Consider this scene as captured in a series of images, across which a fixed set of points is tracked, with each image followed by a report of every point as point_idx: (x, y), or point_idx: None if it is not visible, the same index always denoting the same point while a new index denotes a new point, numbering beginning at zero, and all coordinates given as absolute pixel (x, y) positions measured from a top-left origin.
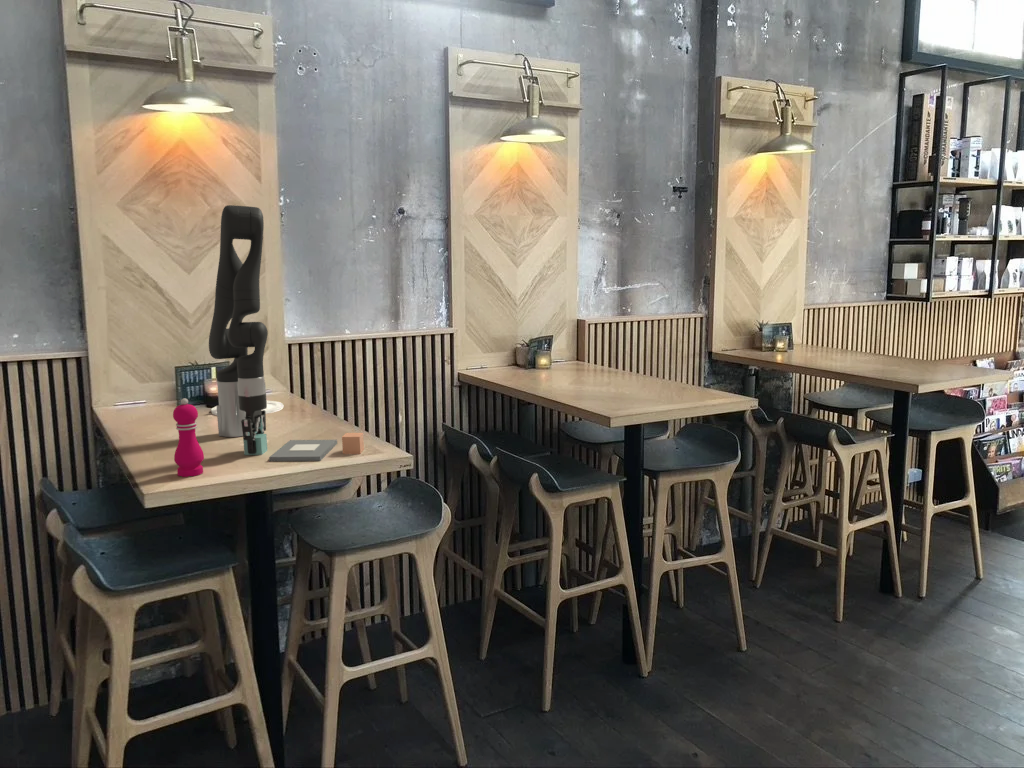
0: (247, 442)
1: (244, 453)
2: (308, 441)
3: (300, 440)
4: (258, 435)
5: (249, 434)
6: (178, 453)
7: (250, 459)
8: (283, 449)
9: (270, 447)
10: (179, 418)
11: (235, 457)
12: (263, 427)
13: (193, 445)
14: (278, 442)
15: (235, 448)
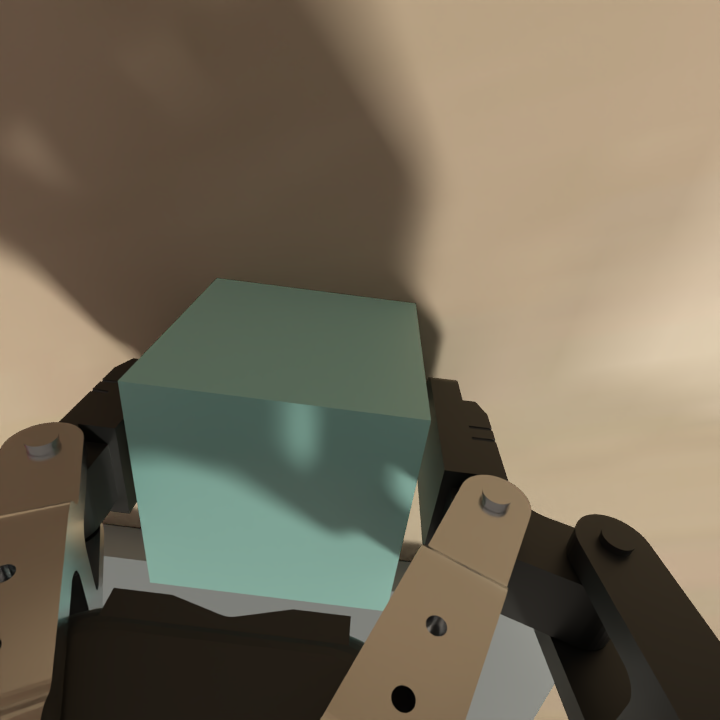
0: (93, 413)
1: (211, 285)
2: (487, 703)
3: (542, 669)
4: (295, 547)
5: (393, 430)
6: None
7: (42, 369)
8: (244, 600)
9: (508, 465)
10: None
11: (99, 196)
12: (549, 647)
13: None
14: (703, 502)
15: (607, 71)
